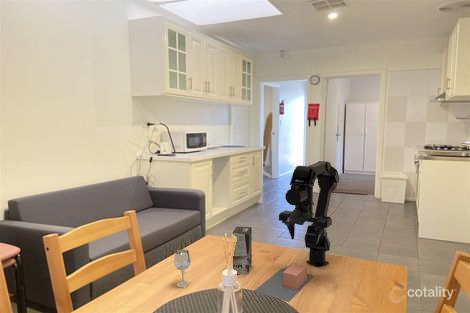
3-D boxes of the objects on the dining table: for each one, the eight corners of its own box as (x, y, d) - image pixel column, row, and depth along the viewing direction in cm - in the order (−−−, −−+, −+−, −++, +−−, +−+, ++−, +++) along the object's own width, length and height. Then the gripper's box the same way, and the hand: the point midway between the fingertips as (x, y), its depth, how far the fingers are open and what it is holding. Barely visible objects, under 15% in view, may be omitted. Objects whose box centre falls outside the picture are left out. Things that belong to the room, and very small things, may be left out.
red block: (294, 263, 124) (283, 272, 117) (306, 266, 122) (296, 275, 114) (293, 276, 125) (283, 286, 117) (306, 279, 122) (296, 290, 115)
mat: (282, 268, 132) (282, 267, 132) (314, 277, 125) (314, 275, 125) (253, 292, 114) (253, 291, 114) (288, 303, 107) (288, 301, 107)
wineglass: (193, 282, 122) (193, 249, 121) (186, 289, 116) (185, 255, 115) (179, 279, 124) (178, 248, 123) (171, 287, 118) (170, 253, 117)
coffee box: (248, 276, 127) (248, 233, 125) (231, 274, 128) (231, 232, 126) (252, 266, 135) (252, 226, 134) (236, 264, 137) (236, 225, 135)
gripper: (271, 201, 123) (271, 243, 124) (321, 207, 112) (321, 253, 114) (285, 195, 132) (285, 234, 133) (332, 201, 121) (331, 243, 123)
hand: (304, 241), depth 126 cm, fingers open, 9 cm apart
